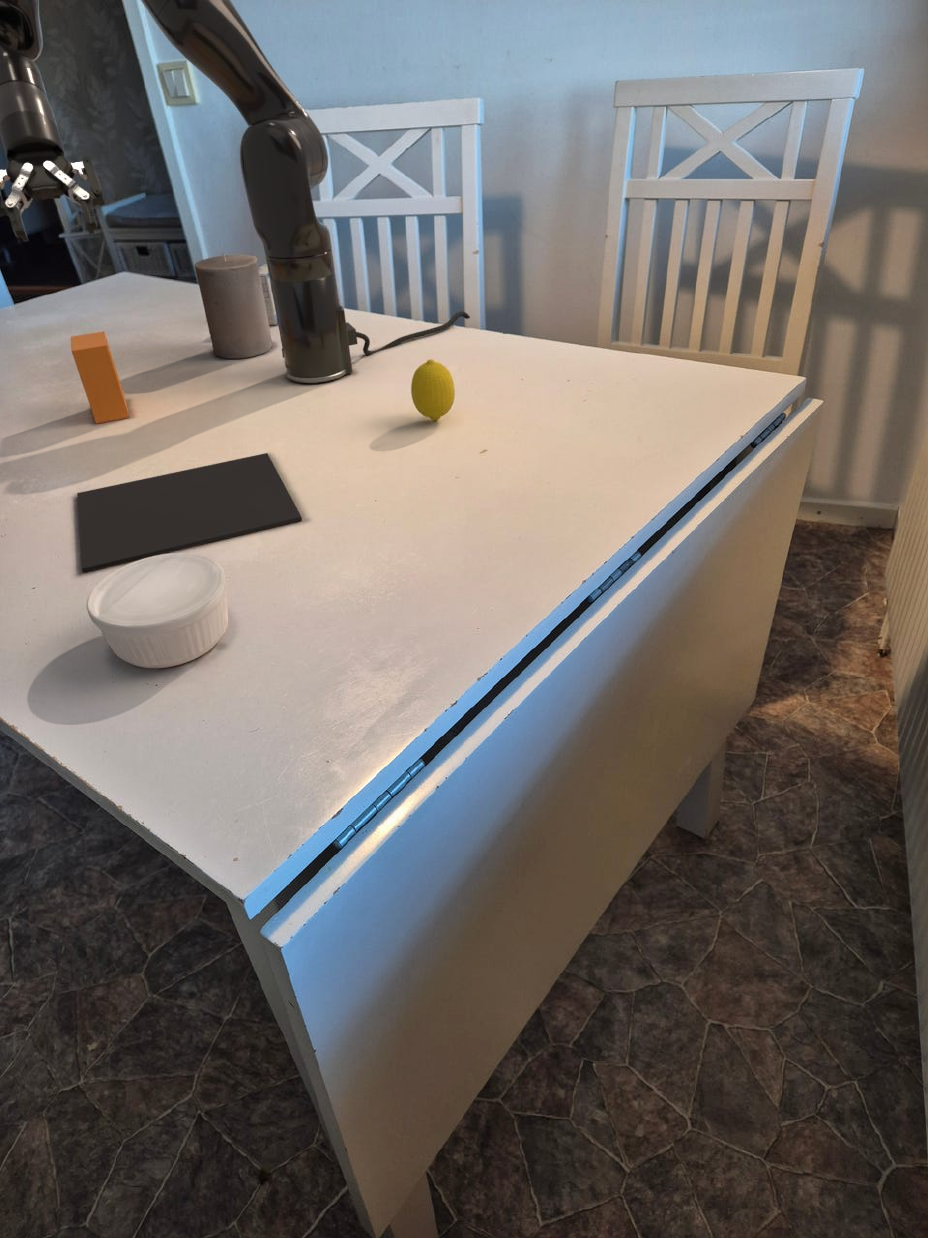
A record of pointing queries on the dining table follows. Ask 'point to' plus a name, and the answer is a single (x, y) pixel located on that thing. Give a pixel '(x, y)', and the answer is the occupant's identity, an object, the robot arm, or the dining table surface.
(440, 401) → the lemon
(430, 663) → the dining table surface
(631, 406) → the dining table surface
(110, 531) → the mat
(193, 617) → the ramekin
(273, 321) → the medicine box
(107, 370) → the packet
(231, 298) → the pillar candle
